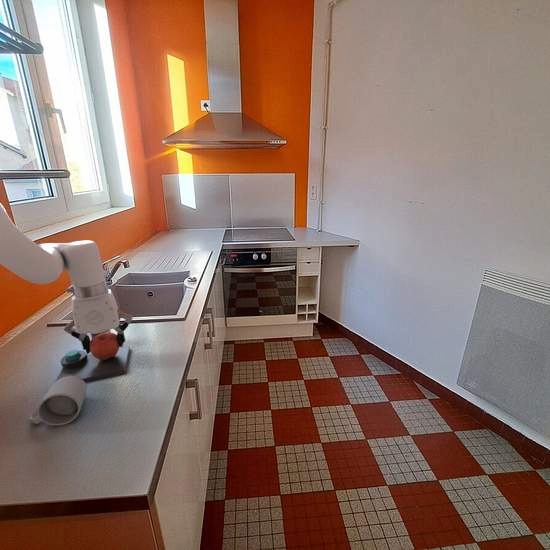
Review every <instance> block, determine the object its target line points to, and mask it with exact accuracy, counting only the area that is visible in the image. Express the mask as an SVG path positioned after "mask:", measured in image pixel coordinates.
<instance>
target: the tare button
mask: <svg viewBox="0 0 550 550" xmlns="http://www.w3.org/2000/svg"><path fill="white" fill-rule="evenodd" d="M79 351H80V350H78V349H73V350H70V351H67V352H66V353H65V356H66V358H67V361H74V360H76V359H78V358H80V354H79Z"/></svg>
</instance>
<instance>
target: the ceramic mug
mask: <svg viewBox="0 0 550 550" xmlns="http://www.w3.org/2000/svg"><path fill="white" fill-rule="evenodd" d="M56 380H57V379H56ZM56 380H55V382H54V383H53V384H51V386H50V388H48V390H47V392H46V393H45V395H44V397H43V398H42V399H41V401H40V402H39V404H38V406H37V408H36V409H35V410H34V411H33V412H32V413H31V415H30V417H29V421H30V422H32V423H33V424H35V425H39V424H41V423H42V422H43V423H45V424H46V425H49V426H64V425H67V424H70V423H71V422H73V421H74V420H75V419H76V418H77V417H78V416H79V414H80V412H81V409H82V406H83V404H84V401H85V398H86V395H87V392H88V391H87V390H88V387H87V382H86V383H85V382H84V381H83V380H82V379H81V378H79V377H76V376H66V377H63V378H60V379H59V380H57V381H56Z"/></svg>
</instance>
